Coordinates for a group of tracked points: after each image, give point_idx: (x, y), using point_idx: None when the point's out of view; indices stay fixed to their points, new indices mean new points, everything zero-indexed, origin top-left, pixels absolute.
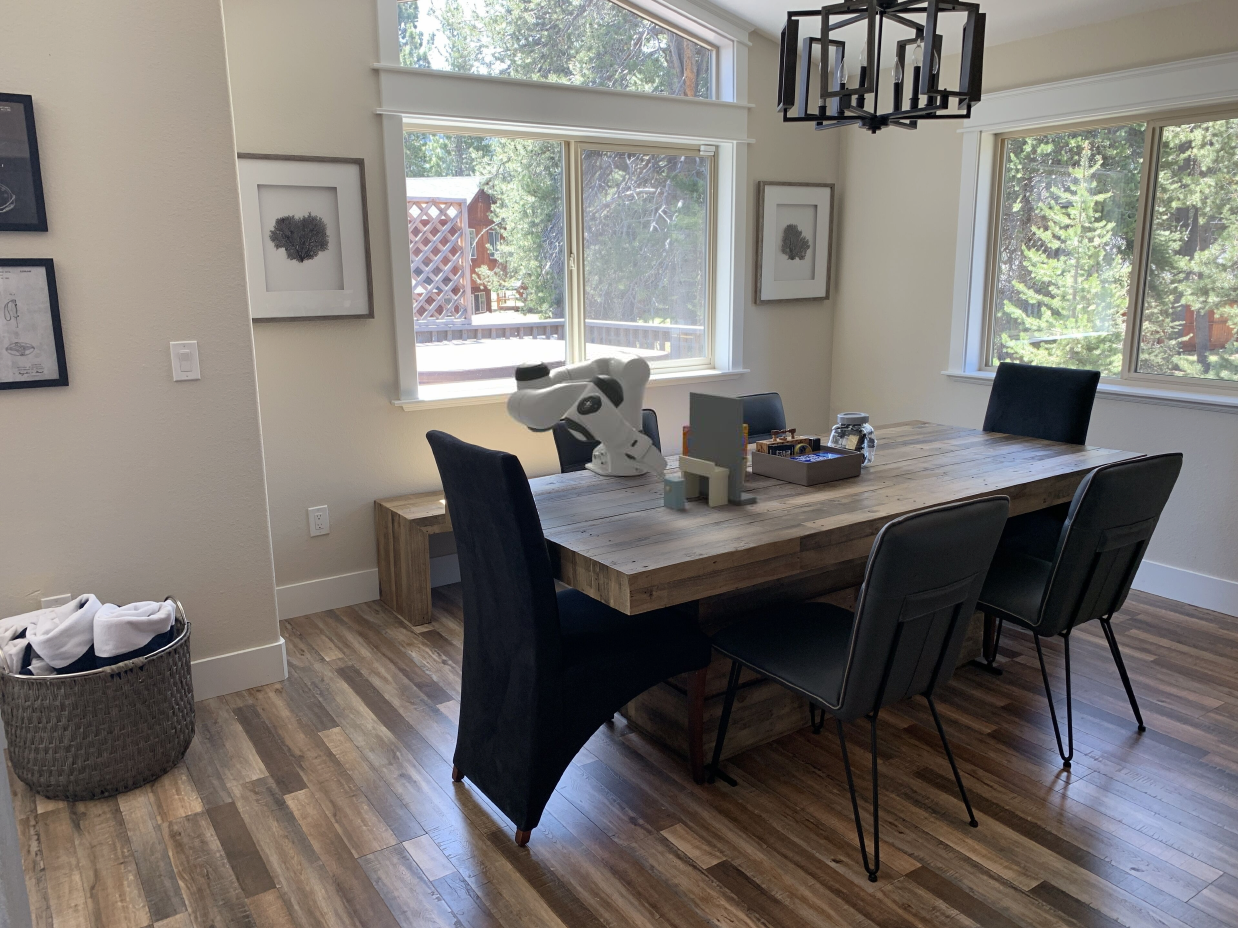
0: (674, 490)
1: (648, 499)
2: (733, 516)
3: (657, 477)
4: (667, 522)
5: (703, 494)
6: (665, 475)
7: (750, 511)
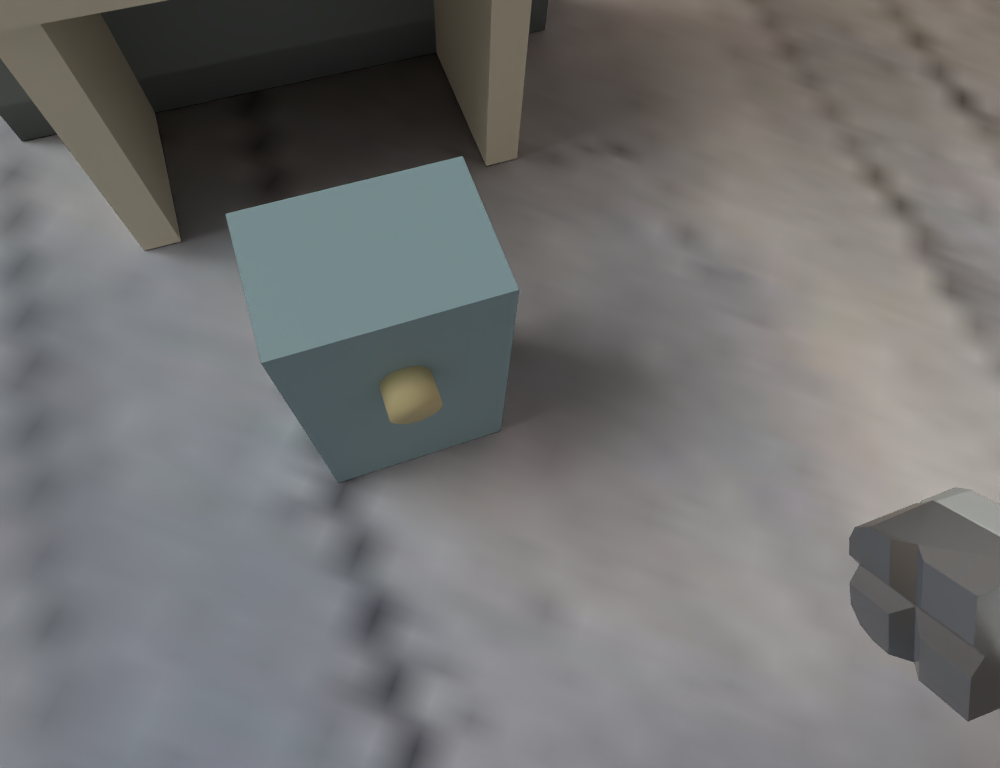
0: (495, 355)
1: (13, 532)
2: (801, 134)
3: (926, 671)
4: None
5: (198, 84)
6: (958, 495)
7: (695, 12)
